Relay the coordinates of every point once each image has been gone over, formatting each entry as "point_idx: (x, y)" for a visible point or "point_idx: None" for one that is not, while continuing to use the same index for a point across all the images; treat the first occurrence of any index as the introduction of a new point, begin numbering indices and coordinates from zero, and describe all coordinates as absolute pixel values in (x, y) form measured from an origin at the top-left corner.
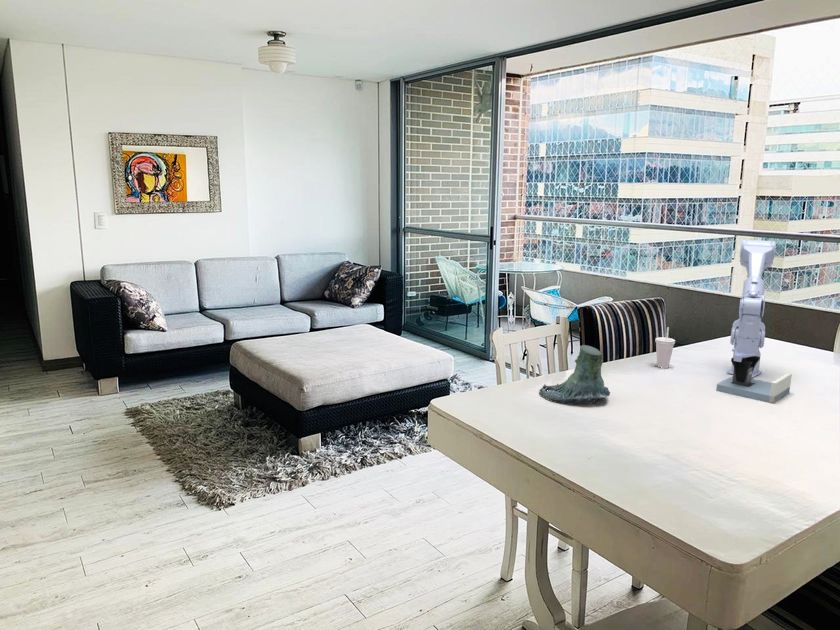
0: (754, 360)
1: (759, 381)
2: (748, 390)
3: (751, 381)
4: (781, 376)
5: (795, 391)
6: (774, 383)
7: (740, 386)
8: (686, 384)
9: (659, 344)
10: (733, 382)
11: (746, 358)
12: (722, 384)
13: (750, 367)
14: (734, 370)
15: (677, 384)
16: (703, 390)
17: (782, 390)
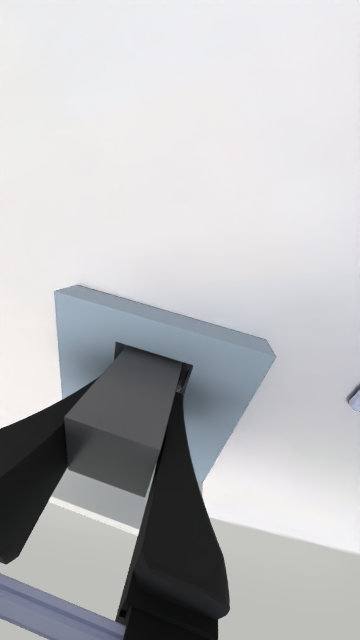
0: (128, 573)
1: (211, 432)
2: (69, 393)
3: (195, 410)
4: (129, 526)
5: (227, 478)
6: None
7: (95, 374)
8: (63, 118)
9: None
10: (123, 353)
11: (134, 562)
12: (68, 313)
13: (119, 486)
14: (84, 397)
15: (22, 55)
16: (40, 235)
17: None
